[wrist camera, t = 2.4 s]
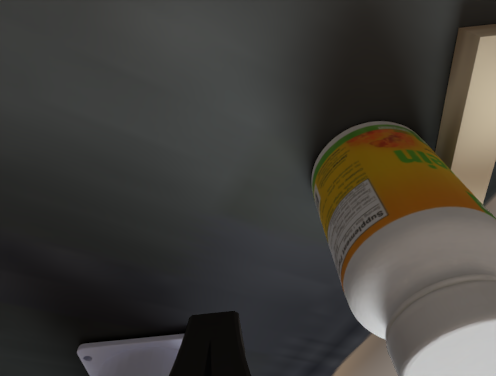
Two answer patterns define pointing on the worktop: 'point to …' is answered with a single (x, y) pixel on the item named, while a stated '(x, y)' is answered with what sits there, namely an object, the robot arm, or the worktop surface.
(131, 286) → the worktop surface
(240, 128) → the worktop surface
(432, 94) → the worktop surface
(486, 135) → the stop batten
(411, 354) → the supplement bottle
